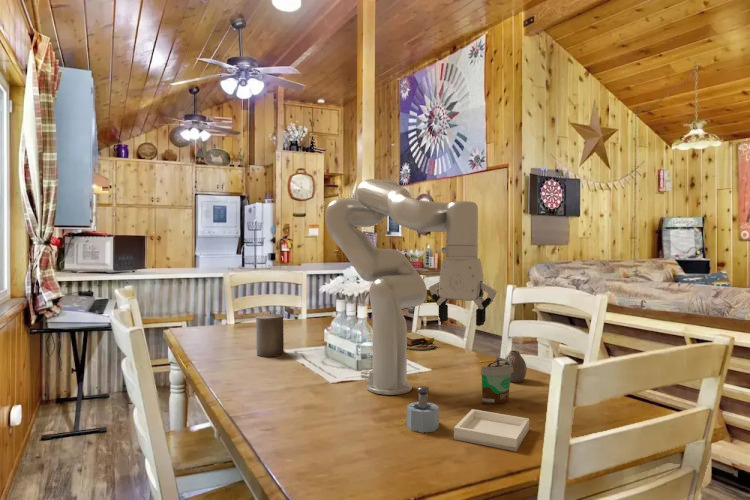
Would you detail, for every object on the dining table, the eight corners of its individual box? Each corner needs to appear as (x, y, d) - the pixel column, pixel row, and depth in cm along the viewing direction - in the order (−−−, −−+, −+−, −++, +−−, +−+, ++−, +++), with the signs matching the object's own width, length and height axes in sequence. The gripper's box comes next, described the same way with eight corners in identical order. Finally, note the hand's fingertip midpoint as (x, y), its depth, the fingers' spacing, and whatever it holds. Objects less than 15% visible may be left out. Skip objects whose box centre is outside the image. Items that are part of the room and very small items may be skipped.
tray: (453, 439, 109) (453, 427, 109) (472, 419, 120) (472, 409, 120) (516, 451, 103) (516, 439, 103) (529, 429, 114) (529, 418, 114)
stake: (415, 427, 115) (415, 388, 115) (419, 423, 118) (419, 385, 117) (425, 429, 114) (426, 390, 114) (430, 425, 116) (430, 387, 116)
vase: (527, 384, 149) (527, 354, 148) (502, 383, 150) (503, 353, 150) (525, 378, 155) (525, 349, 155) (501, 376, 157) (502, 348, 157)
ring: (403, 428, 114) (403, 408, 114) (416, 417, 121) (416, 399, 121) (431, 434, 111) (431, 413, 111) (443, 422, 118) (443, 403, 118)
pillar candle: (289, 353, 186) (289, 311, 186) (270, 358, 178) (270, 315, 178) (269, 350, 192) (269, 309, 191) (250, 355, 183) (249, 313, 183)
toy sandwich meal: (414, 352, 189) (414, 340, 189) (394, 345, 201) (394, 333, 201) (441, 349, 195) (441, 336, 195) (421, 342, 207) (421, 330, 207)
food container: (504, 410, 127) (504, 370, 127) (480, 405, 130) (480, 366, 130) (518, 397, 137) (519, 359, 137) (496, 393, 141) (497, 356, 140)
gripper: (422, 252, 126) (422, 321, 127) (489, 253, 117) (489, 329, 117) (437, 251, 133) (437, 317, 133) (501, 252, 123) (501, 324, 123)
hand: (461, 323), depth 125 cm, fingers open, 9 cm apart
